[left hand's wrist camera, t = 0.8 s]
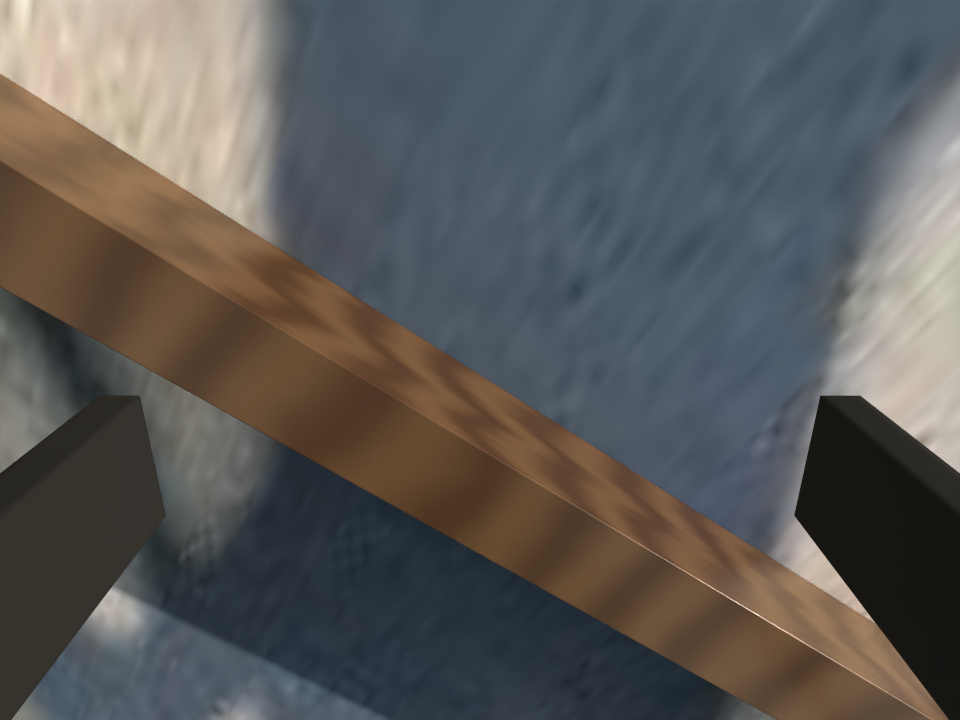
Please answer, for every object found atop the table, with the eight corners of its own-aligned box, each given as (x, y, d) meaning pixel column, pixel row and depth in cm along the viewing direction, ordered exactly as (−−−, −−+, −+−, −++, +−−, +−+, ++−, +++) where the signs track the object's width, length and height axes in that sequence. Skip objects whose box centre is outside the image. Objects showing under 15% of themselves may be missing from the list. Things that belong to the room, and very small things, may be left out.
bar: (-116, 112, 32) (-303, 118, 25) (-87, 18, 31) (-277, -6, 23) (918, 724, 48) (1000, 844, 40) (973, 684, 46) (1068, 801, 39)
